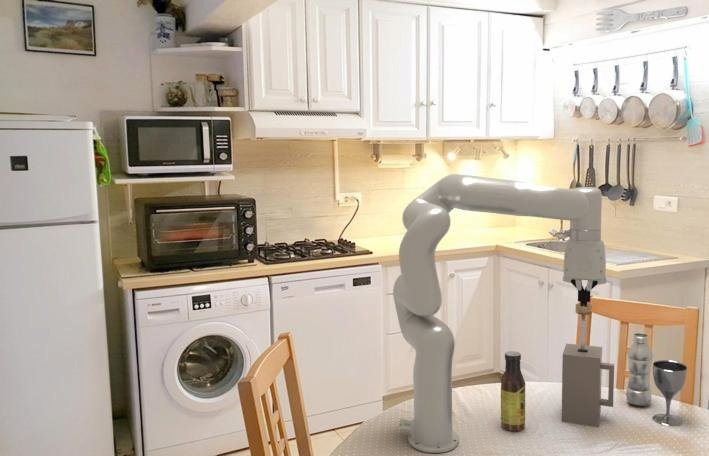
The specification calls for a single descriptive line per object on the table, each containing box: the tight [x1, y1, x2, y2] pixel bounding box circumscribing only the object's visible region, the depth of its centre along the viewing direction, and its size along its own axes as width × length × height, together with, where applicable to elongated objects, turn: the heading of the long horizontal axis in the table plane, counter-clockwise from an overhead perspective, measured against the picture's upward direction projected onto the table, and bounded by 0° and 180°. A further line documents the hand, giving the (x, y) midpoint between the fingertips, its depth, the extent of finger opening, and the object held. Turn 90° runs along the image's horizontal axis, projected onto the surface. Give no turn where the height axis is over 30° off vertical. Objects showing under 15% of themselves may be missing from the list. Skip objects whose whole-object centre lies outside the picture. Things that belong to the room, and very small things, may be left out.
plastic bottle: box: [625, 332, 654, 407], centre depth 172 cm, size 6×7×20 cm
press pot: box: [561, 342, 615, 428], centre depth 165 cm, size 12×9×19 cm
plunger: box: [575, 302, 593, 352], centre depth 164 cm, size 7×7×19 cm
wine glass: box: [652, 359, 688, 427], centre depth 162 cm, size 8×8×15 cm
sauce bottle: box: [500, 350, 526, 432], centre depth 161 cm, size 7×6×20 cm
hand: (583, 304), depth 162 cm, fingers closed
